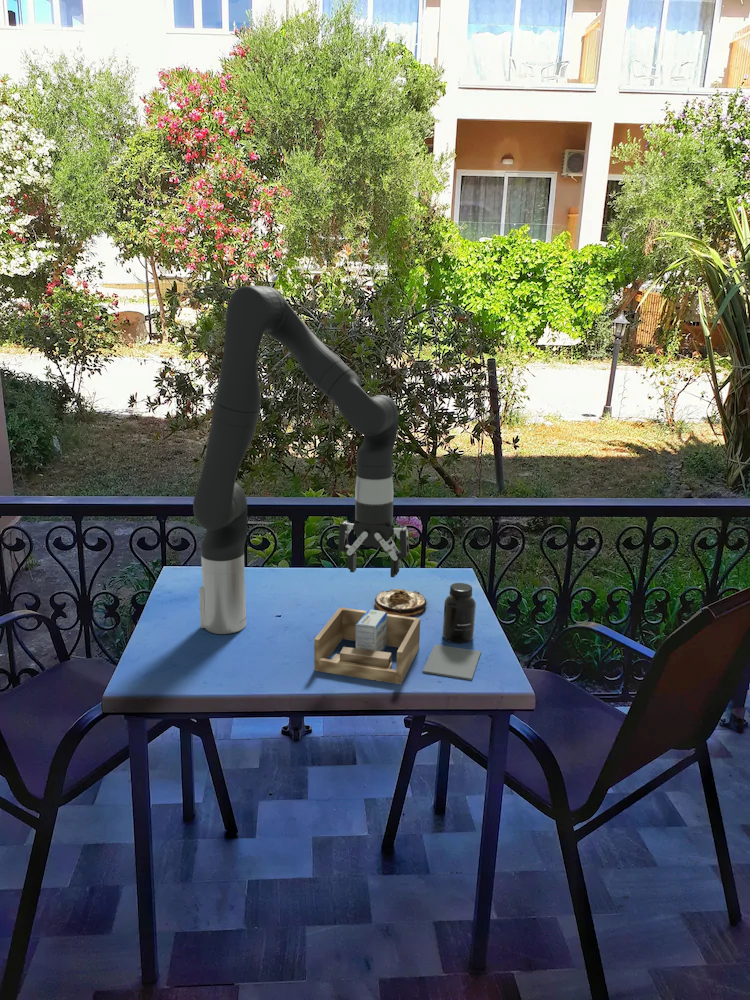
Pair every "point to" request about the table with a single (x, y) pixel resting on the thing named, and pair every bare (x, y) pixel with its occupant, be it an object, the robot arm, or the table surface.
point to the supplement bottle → (459, 614)
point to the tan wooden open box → (344, 627)
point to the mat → (452, 662)
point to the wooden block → (364, 657)
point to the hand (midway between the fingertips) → (373, 573)
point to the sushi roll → (400, 602)
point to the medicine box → (372, 631)
